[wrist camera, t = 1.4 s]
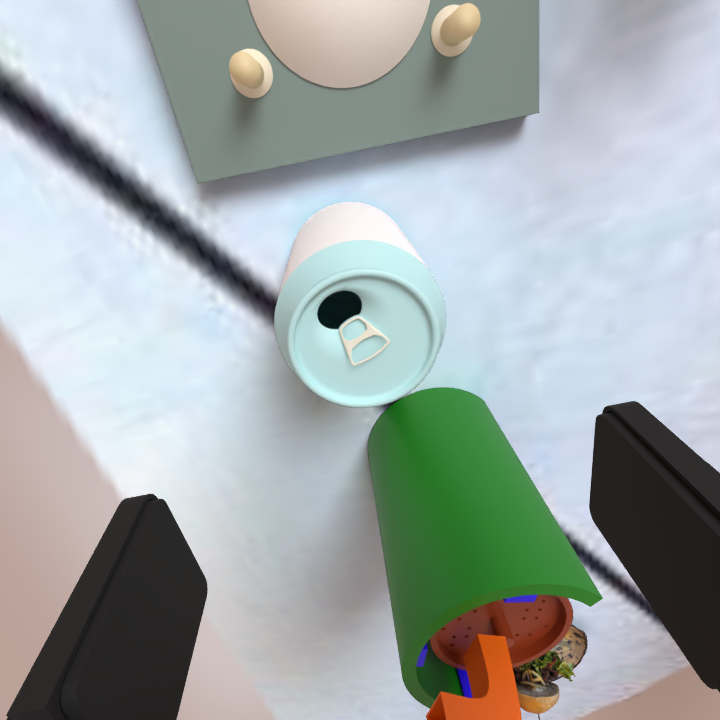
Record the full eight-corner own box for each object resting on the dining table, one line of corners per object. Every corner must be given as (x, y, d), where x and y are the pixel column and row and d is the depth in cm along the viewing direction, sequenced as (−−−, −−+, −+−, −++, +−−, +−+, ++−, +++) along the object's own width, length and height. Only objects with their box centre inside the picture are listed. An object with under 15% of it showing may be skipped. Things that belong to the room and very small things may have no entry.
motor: (470, 495, 37) (600, 831, 20) (362, 493, 36) (396, 843, 19) (498, 389, 33) (701, 701, 15) (374, 384, 32) (436, 709, 14)
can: (279, 297, 29) (251, 400, 18) (308, 183, 26) (296, 225, 15) (384, 326, 30) (417, 438, 19) (424, 221, 27) (487, 284, 16)
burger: (602, 623, 47) (647, 704, 41) (528, 682, 51) (558, 765, 45) (515, 590, 44) (549, 673, 37) (443, 656, 48) (462, 741, 41)
